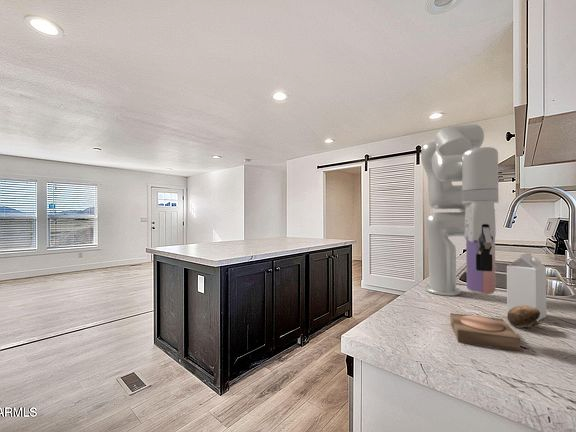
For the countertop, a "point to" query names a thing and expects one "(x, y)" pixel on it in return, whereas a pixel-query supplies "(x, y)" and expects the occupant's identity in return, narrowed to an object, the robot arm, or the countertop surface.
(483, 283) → the beverage can
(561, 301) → the countertop surface
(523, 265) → the milk carton
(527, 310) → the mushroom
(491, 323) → the walnut base
